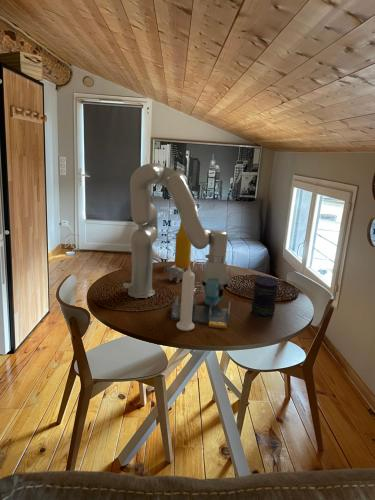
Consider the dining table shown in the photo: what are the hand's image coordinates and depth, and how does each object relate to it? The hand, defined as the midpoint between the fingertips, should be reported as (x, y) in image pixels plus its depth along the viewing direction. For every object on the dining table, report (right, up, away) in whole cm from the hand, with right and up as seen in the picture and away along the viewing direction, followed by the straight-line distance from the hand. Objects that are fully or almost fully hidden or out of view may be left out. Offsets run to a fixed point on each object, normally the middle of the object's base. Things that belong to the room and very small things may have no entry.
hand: (213, 295), depth 164 cm
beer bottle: (-15, +11, +48) cm, 51 cm away
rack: (-7, -7, -14) cm, 17 cm away
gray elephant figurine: (-20, +5, +26) cm, 33 cm away
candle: (-13, -9, -24) cm, 28 cm away
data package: (0, -3, +1) cm, 3 cm away
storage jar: (+21, -7, -8) cm, 23 cm away
